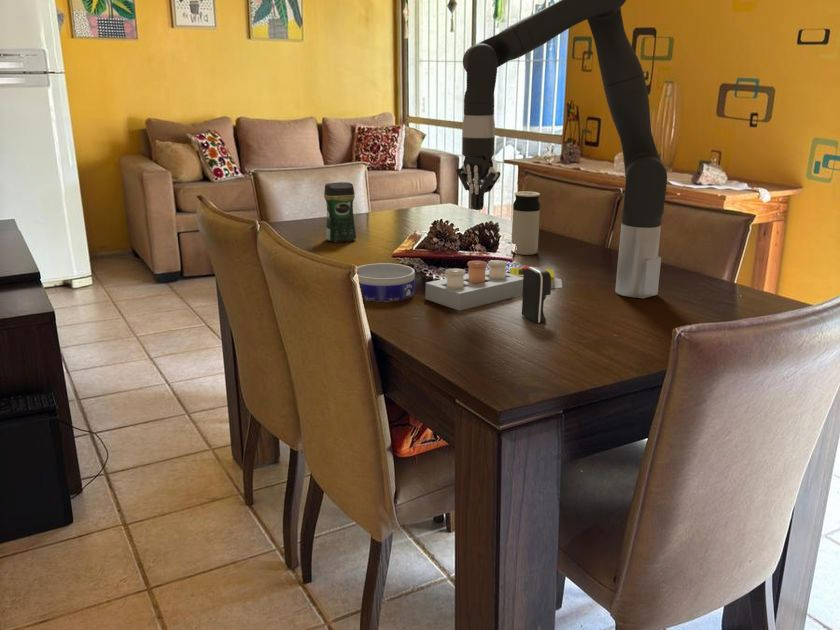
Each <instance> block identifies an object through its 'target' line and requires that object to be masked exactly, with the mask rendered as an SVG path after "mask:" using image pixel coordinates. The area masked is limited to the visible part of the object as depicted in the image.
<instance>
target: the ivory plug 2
mask: <svg viewBox="0 0 840 630" xmlns="http://www.w3.org/2000/svg"><path fill="white" fill-rule="evenodd" d="M487 266H489V267H488V268H489V269H488V270H489V278H493V279H496V280H498V279H503V278H505V275H506V273H507V271H506V269H507V266H508V262H507V261H505V260H501V259H500V260H499V259H498V260H497V259H496V260H495V259H494V260H493V259H492V260H489V261H488V262H487Z"/></svg>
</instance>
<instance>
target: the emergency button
mask: <svg viewBox="0 0 840 630" xmlns="http://www.w3.org/2000/svg"><path fill="white" fill-rule="evenodd" d="M528 267H533V266H531V265H530V266H529V265H528V266H527V265H526V266H522V267H510V268H509V274H512V275H515V276H519V277H523V274H524V270H525V269H526V268H528ZM543 269H544V270H546V271H548V272H549V273H550V275H551V289H562V288H563V282H562V279H561V278H556V277H555V274H554V269H551V268H543Z"/></svg>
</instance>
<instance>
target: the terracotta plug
mask: <svg viewBox="0 0 840 630" xmlns="http://www.w3.org/2000/svg"><path fill="white" fill-rule="evenodd" d="M467 266H468V274H469V275H468V282H470V283H473V284H480V283H485V270H486V267H487V266H488V262H487V261H485V260H469V261H468V262H467Z"/></svg>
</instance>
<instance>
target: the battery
mask: <svg viewBox="0 0 840 630" xmlns="http://www.w3.org/2000/svg"><path fill="white" fill-rule="evenodd" d="M544 269H545V268H541V267H539V266H532V267H528V268H526V269H525V270H524V274H523V295H521V296H522V299H521V300H522V305H521V315H522V316H523V317H524V318H526V319H527V320H529V321H531V322H532V323H535V324H540V323H544V322H546V321H547V318H546V316H545V314H544V303H545V300H546V298H547V296H551V295H552V294H551V293H552V288H551V275H550V273H549V272H548V271H546V270H544Z"/></svg>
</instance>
